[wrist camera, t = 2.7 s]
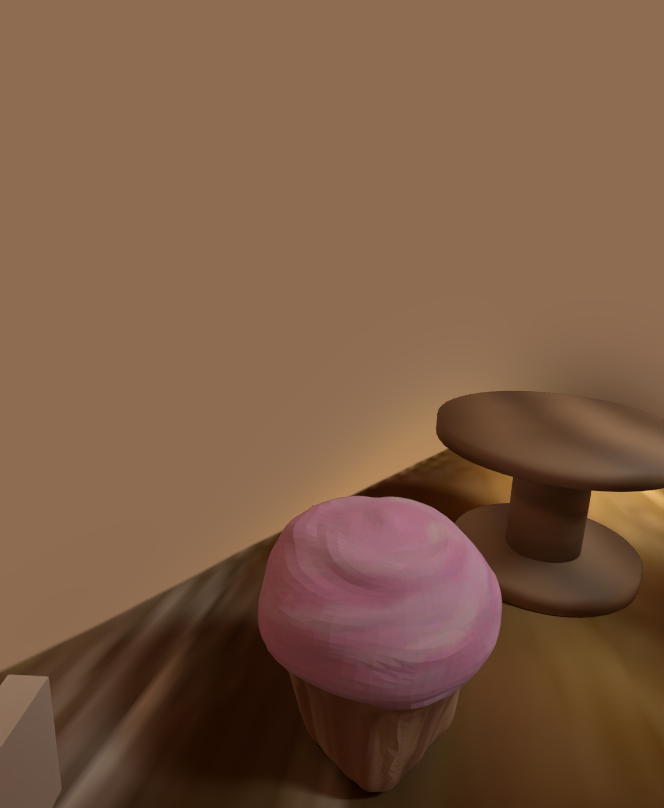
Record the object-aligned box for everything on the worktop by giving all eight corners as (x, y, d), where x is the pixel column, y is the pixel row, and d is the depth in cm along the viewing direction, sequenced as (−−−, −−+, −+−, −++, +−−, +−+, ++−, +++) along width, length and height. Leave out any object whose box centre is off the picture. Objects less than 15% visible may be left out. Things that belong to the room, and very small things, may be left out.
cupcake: (398, 904, 18) (422, 622, 15) (213, 743, 23) (204, 513, 20) (518, 725, 24) (551, 506, 21) (353, 632, 30) (362, 446, 27)
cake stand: (558, 499, 45) (575, 385, 42) (727, 608, 32) (767, 455, 30) (391, 522, 41) (398, 398, 38) (510, 659, 28) (534, 486, 25)
